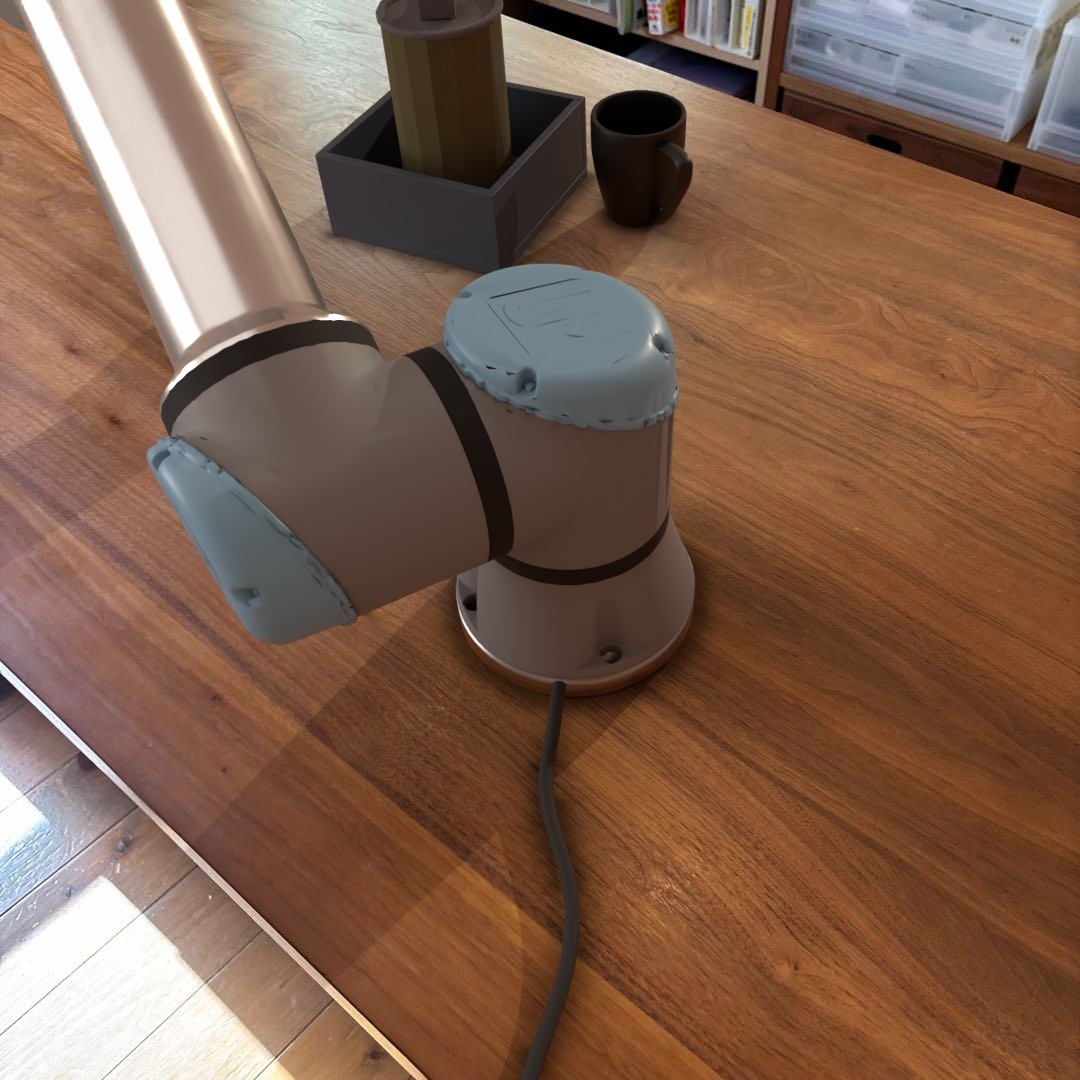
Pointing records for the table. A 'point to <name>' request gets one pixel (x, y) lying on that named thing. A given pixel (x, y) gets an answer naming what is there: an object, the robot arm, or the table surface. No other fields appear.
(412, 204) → the basket
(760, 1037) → the table surface
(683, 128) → the mug
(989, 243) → the table surface
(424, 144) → the canister
